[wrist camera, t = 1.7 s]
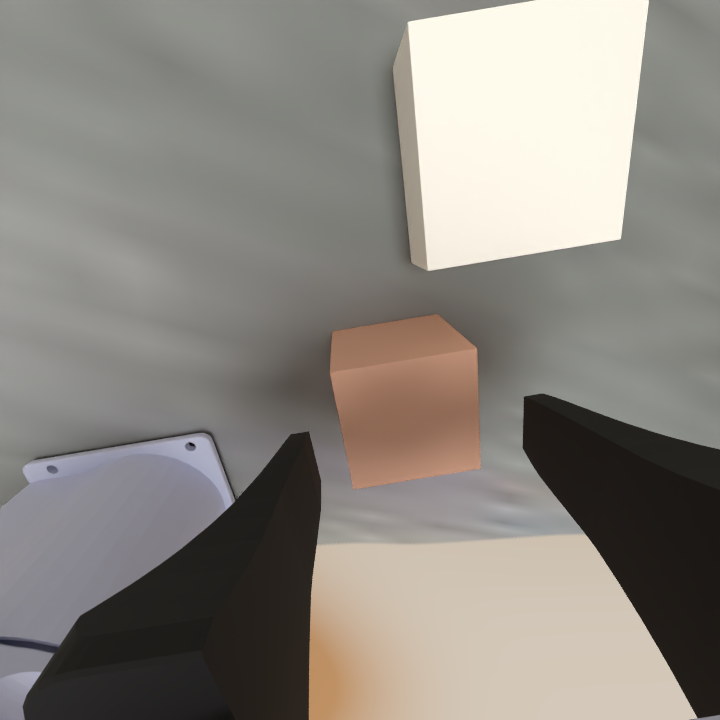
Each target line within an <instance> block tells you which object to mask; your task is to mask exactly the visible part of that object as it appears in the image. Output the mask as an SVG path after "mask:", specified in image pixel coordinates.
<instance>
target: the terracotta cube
mask: <svg viewBox="0 0 720 720" xmlns="http://www.w3.org/2000/svg"><path fill="white" fill-rule="evenodd" d="M330 376H331V381H332V386H333V391H334V396H335V401H336V406H337V411H338V416H339V420H340V425H341V430H342V435H343V440H344V445H345V450H346V455H347V460H348V465H349V470H350V475H351V479H352V484H353V489H360V488H366V487H372V486H378V485H384V484H390V483H396V482H402V481H408V480H414V479H420V478H426V477H432V476H438V475H445V474H451V473H457V472H463V471H469V470H475V469H481V460H480V426H479V393H478V359H477V348H476V347H475V346H474V345H473V344H471V343H470V342H469V341H468V340H467V339H466V338H465V337H463V336H462V335H461V334H460V333H459V332H458V331H457V330H455V329H454V328H453V327H452V326H451V325H450V324H448V323H447V322H446V321H445V320H444V319H443V318H442V317H440V316H439V315H438V314H435V315H429V316H423V317H417V318H410V319H404V320H398V321H392V322H386V323H380V324H374V325H368V326H362V327H356V328H350V329H344V330H338V331H332V344H331V361H330Z"/></svg>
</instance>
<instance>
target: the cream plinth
mask: <svg viewBox="0 0 720 720" xmlns="http://www.w3.org/2000/svg"><path fill="white" fill-rule="evenodd" d="M648 3H649V0H535V1H529V2H523V3H517V4H511V5H505V6H500V7H494V8H488V9H482V10H476V11H470V12H464V13H458V14H452V15H446V16H440V17H434V18H428V19H422V20H416V21H410V22H408V23H407V26H406V29H405V32H404V35H403V38H402V41H401V44H400V47H399V50H398V53H397V56H396V59H395V62H394V65H393V77H394V87H395V98H396V108H397V119H398V129H399V139H400V150H401V160H402V171H403V181H404V191H405V202H406V212H407V222H408V233H409V243H410V254H411V263H412V264H414V265H416V266H419V267H421V268H423V269H425V270H427V271H431V270H437V269H443V268H449V267H455V266H461V265H467V264H473V263H479V262H485V261H491V260H497V259H503V258H509V257H515V256H521V255H527V254H533V253H539V252H545V251H551V250H558V249H564V248H570V247H576V246H582V245H588V244H594V243H600V242H606V241H612V240H618V239H621V232H622V223H623V215H624V206H625V198H626V189H627V181H628V172H629V164H630V155H631V147H632V138H633V130H634V121H635V113H636V105H637V96H638V88H639V79H640V71H641V62H642V54H643V45H644V37H645V28H646V20H647V11H648Z"/></svg>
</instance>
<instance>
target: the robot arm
mask: <svg viewBox="0 0 720 720" xmlns="http://www.w3.org/2000/svg"><path fill="white" fill-rule="evenodd" d="M188 442H191V443H193V444H195V447H194V446H191V445H189V443H188ZM523 449H524V451H525V453H526V455H527V456H528V458H529V460H530V462H531V463H532V465H533V466H534V468H535V470H536V471H537V473H538V474H539V476H540V477H541V478H542V480H543V481H544V482H545V484H546V485H547V486H548V487H549V489H550V490H551V491H552V492H553V494H554V495H555V496H556V498H557V499H558V500H559V501H560V503H561V504H562V505H563V506H564V507H565V509H566V510H567V511H568V512H569V514H570V515H571V516H572V517H573V519H574V520H575V521H576V522H577V524H578V525H579V526H580V527H581V529H582V530H583V531H584V532H585V534H586V535H587V536H588V538H589V539H590V540H591V542H592V543H593V544H594V546H595V547H596V549H597V550H598V552H599V553H600V555H601V556H602V557H603V559H604V561H605V562H606V564H607V565H608V567H609V568H610V570H611V571H612V573H613V575H614V576H615V577H616V579H617V581H618V582H619V584H620V585H621V587H622V589H623V590H624V592H625V593H626V595H627V597H628V598H629V600H630V601H631V603H632V605H633V606H634V608H635V610H636V611H637V613H638V614H639V616H640V617H641V619H642V621H643V623H644V624H645V626H646V628H647V629H648V631H649V633H650V634H651V636H652V638H653V640H654V641H655V643H656V645H657V646H658V648H659V650H660V651H661V653H662V655H663V657H664V658H665V660H666V662H667V664H668V665H669V667H670V669H671V671H672V672H673V674H674V676H675V678H676V680H677V681H678V683H679V685H680V687H681V689H682V690H683V692H684V694H685V696H686V698H687V699H688V701H689V703H690V705H691V707H692V709H693V711H694V712H695V714H696V716H697V719H691V720H720V450H719V449H715V448H710V447H706V446H702V445H698V444H694V443H691V442H687V441H683V440H679V439H675V438H672V437H668V436H665V435H661V434H658V433H654V432H651V431H648V430H645V429H642V428H639V427H636V426H633V425H630V424H627V423H624V422H621V421H618V420H615V419H612V418H610V417H607V416H604V415H601V414H599V413H596V412H593V411H591V410H588V409H585V408H583V407H580V406H577V405H575V404H572V403H569V402H567V401H564V400H561V399H558V398H555V397H552V396H549V395H546V394H537V395H531V396H525V397H524V420H523ZM54 466H55V467H54ZM22 471H23V474H24V475H25V477H26V479H27V480H28V482H29V483H30V484H28V485H27V486H26V487H25V488H24V489H22V490H21V491H20V492H19V493H18V494H16V495H15V496H14V497H13V498H12V499H10V500H9V501H8V502H7V503H5V504H4V505H3V506H2V507H1V508H0V720H309V642H310V606H311V587H312V576H313V568H314V560H315V553H316V545H317V537H318V529H319V521H320V512H321V479H320V475H319V471H318V467H317V463H316V459H315V455H314V450H313V446H312V442H311V438H310V434H309V432H303V433H297V434H291V435H290V436H289V437H288V439H287V440H286V441H285V442H284V444H283V445H282V446H281V448H280V449H279V450H278V452H277V453H276V454H275V455H274V457H273V458H272V459H271V461H270V462H269V463H268V464H267V466H266V467H265V468H264V469H263V471H262V472H261V473H260V474H259V475H258V477H257V478H256V479H255V480H254V481H253V482H252V483H251V484H250V486H249V487H248V488H247V489H246V490H245V491H244V492H243V493H242V495H241V496H240V497H239V498H238V499H237V500H236V501H235V499H234V496H233V494H232V491H231V488H230V485H229V483H228V480H227V477H226V475H225V472H224V469H223V467H222V464H221V461H220V458H219V456H218V453H217V450H216V448H215V445H214V442H213V440H212V438H211V436H209V435H208V434H205V433H196V434H190V435H184V436H178V437H172V438H166V439H160V440H153V441H147V442H141V443H135V444H129V445H123V446H117V447H111V448H105V449H99V450H93V451H87V452H81V453H75V454H69V455H63V456H57V457H50V458H44V459H38V460H33V461H30V462H29V463H28V464H26V465H25V466H24V467H23V470H22Z"/></svg>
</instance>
